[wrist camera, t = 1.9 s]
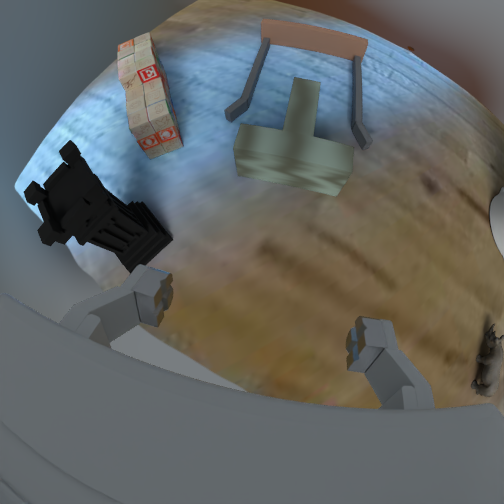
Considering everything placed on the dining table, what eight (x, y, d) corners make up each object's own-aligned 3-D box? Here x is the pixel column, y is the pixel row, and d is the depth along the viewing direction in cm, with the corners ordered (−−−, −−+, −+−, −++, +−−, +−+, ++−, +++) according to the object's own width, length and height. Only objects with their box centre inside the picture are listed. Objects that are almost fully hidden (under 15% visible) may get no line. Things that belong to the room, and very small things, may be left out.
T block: (343, 120, 42) (355, 91, 34) (336, 196, 39) (352, 172, 31) (258, 103, 43) (258, 71, 35) (238, 175, 40) (233, 147, 32)
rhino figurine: (490, 322, 34) (512, 322, 28) (480, 392, 32) (500, 398, 26) (478, 324, 34) (500, 324, 29) (467, 397, 32) (487, 404, 26)
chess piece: (134, 276, 38) (41, 249, 18) (108, 237, 39) (20, 192, 19) (172, 239, 39) (101, 183, 19) (144, 203, 40) (72, 134, 20)
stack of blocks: (185, 147, 42) (162, 99, 30) (149, 161, 42) (119, 118, 29) (165, 73, 46) (149, 30, 34) (138, 84, 46) (117, 44, 33)
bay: (365, 59, 45) (372, 41, 39) (367, 151, 40) (380, 131, 35) (258, 38, 47) (257, 18, 41) (225, 121, 42) (220, 98, 36)
